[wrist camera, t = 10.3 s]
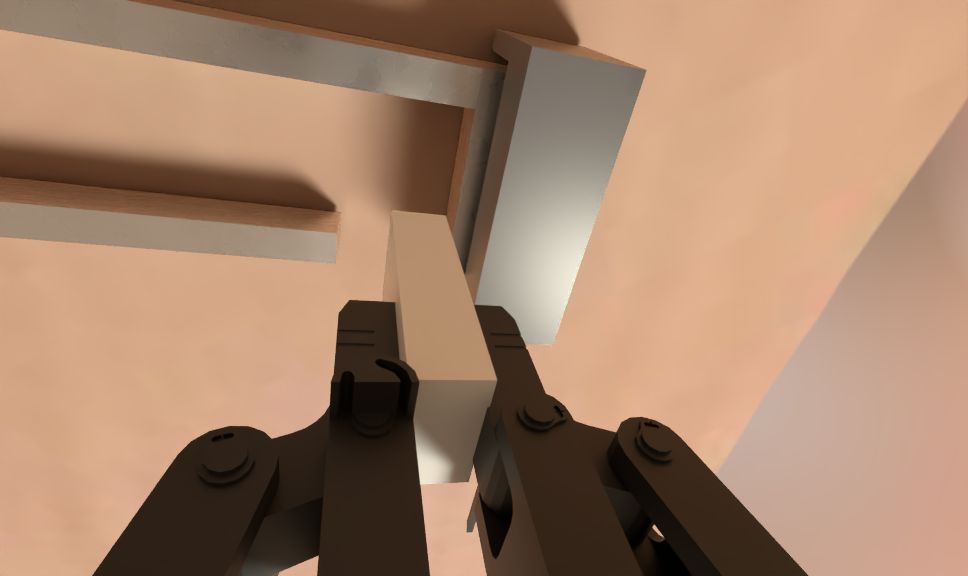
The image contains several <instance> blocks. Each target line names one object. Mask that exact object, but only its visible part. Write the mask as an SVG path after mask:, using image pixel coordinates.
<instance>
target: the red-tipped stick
mask: <svg viewBox="0 0 968 576" xmlns="http://www.w3.org/2000/svg"><path fill="white" fill-rule="evenodd" d="M340 215H341V212H331V211H322V210H312V209H303V208H293V207H284V206H274V205H265V204H255V203H246V202H236V201H227V200H217V199H208V198H198V197H189V196H179V195H170V194H160V193H151V192H141V191H132V190H122V189H113V188H103V187H94V186H84V185H75V184H65V183H56V182H46V181H37V180H27V179H18V178H8V177H0V237H8V238H20V239H33V240H46V241H58V242H71V243H83V244H96V245H108V246H121V247H134V248H146V249H159V250H171V251H184V252H196V253H209V254H222V255H234V256H247V257H259V258H272V259H284V260H297V261H310V262H322V263H335V264H336V259H337V253H338V246H339V236H340Z"/></svg>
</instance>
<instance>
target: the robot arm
mask: <svg viewBox="0 0 968 576" xmlns="http://www.w3.org/2000/svg"><path fill="white" fill-rule="evenodd" d="M473 464H474V468H475V473H476V478H477V482H478V486H477V490H476V493H475V496H474V500H473V503H472V506H471V510H470V513H469V516H468V520H467V532H473V528H474V525H475V522H477V527H478V532H479V537H480V542H481V547H482V553H483V558H484V563H485V568H486V573H487V576H808V575H807V574H806V573H805V571H804V570H803V569H802V568H801V567H800V566H799V565H798V564H797V563H796V562H795V561H794V560H793V558H791V556H790V555H789V554H788V553H787V552H786V551H785V550H784V549H783V548H782V547H781V545H780V544H779V543H778V542H777V541H776V540H775V539H774V538H773V537H772V536H771V535H770V534H769V533H768V531H767V530H766V529H765V528H764V527H763V526H762V525H761V524H760V523H759V522H758V521H757V520H756V518H755V517H754V516H753V515H752V514H751V513H750V512H749V511H748V510H747V509H746V508H745V507H744V506H743V504H742V503H741V502H740V501H739V500H738V499H737V498H736V497H735V496H734V495H733V494H732V493H731V491H730V490H729V489H728V488H727V487H726V486H725V485H724V484H723V483H722V482H721V481H720V480H719V479H718V477H717V476H716V475H715V474H714V473H713V472H712V471H711V470H710V469H709V468H708V467H707V466H706V464H705V463H704V462H703V461H702V460H701V459H700V458H699V457H698V456H697V455H696V454H695V453H694V452H693V450H692V449H691V448H690V447H689V446H688V445H687V444H686V443H685V442H684V441H683V440H682V439H681V438H680V437H679V436H678V435H677V434H676V433H675V432H673V431H672V430H671V429H670V428H669V427H667V426H665V425H663V424H661V423H659V422H657V421H655V420H652V419H648V418H644V417H633V418H629V419H627V420H625V421H623V422H621V424H620V426H619V428H618V430H617V432H612V431H608V430H604V429H600V428H596V427H592V426H588V425H585V424H582V423H579V422H576V421H574V420H573V418H572V416H571V414H570V413H569V411H568V410H567V409H566V407H565V406H564V405H563V404H562V403H560V402H559V401H558V400H557V399H555V398H554V397H552V396H550V395H547V394H546V393H545V391H544V388H543V386H542V383H541V381H540V379H539V376H538V374H537V371H536V369H535V366H534V364H533V362H532V359H531V357H530V354H529V352H528V350H527V349H526V345H525V342H524V340H523V338H522V337H521V333H520V330H519V328H518V326H517V323H516V321H515V319H514V318H513V317H512V316H511V315H510V314H509V313H508V312H507V311H506V310H505V309H504V308H503V307H502V306H491V305H474V304H473V301H472V298H471V295H470V291H469V288H468V285H467V282H466V279H465V275H464V272H463V269H462V266H461V263H460V259H459V256H458V253H457V250H456V247H455V243H454V240H453V237H452V234H451V231H450V227H449V224H448V221H447V218H446V215H436V214H426V213H416V212H406V211H396V210H391V219H390V229H389V238H388V248H387V257H386V267H385V276H384V286H383V302H380V301H359V300H349V301H348V303H347V304H346V305H345V306H344V308H343V309H342V310H341V311H340V312H339V316H338V329H337V341H336V354H335V366H334V375H333V378H332V381H331V394H330V406H329V407H328V409H327V411H326V412H325V414H324V415H323V416H322V417H321V418H319V419H318V420H317V421H316V422H315V423H313V424H311V425H310V426H308V427H307V428H305V429H302V430H299V431H297V432H294V433H291V434H288V435H284V436H280V437H277V438H273V439H271V438H270V437H269V436H268V435H267V434H266V433H265V432H263V431H261V430H258V429H255V428H252V427H249V426H228V427H224V428H220V429H216V430H212V431H209V432H207V433H205V434H204V435H202V436H200V437H198V438H196V439H195V440H193V441H191V442H190V443H189V444H188V445H187V446H186V447H185V448H184V449H183V450H182V451H181V452H180V453H179V454H178V455H177V457H176V458H175V459H174V461H173V462H172V464H171V465H170V466H169V468H168V469H167V471H166V472H165V474H164V475H163V476H162V478H161V479H160V481H159V482H158V483H157V485H156V486H155V488H154V489H153V491H152V492H151V493H150V495H149V496H148V498H147V499H146V500H145V502H144V503H143V505H142V506H141V507H140V509H139V510H138V512H137V513H136V515H135V516H134V517H133V519H132V520H131V522H130V523H129V524H128V526H127V527H126V529H125V530H124V531H123V533H122V534H121V536H120V537H119V539H118V540H117V541H116V543H115V544H114V546H113V547H112V548H111V550H110V551H109V553H108V554H107V556H106V557H105V558H104V560H103V561H102V563H101V564H100V565H99V567H98V568H97V570H96V571H95V572H94V574H93V575H92V576H278V574H279V572H280V571H283V570H285V569H287V568H290V567H292V566H295V565H297V564H299V563H302V562H304V561H307V560H309V559H311V558H314V557H316V556H318V555H319V559H318V572H317V576H430V572H429V562H428V553H427V543H426V534H425V525H424V515H423V506H422V496H421V487H420V484H439V483H457V482H469V478H470V475H471V471H472V468H473ZM654 524H655V526H656V527H657V528H658V530H659V531H660V532H661V534H662V535H663V536H664V538H663V537H662V536H660V535H658V533H657V532H656V531H655V530H654V529H653V528H652V527H653V525H654Z"/></svg>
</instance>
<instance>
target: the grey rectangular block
mask: <svg viewBox="0 0 968 576" xmlns="http://www.w3.org/2000/svg"><path fill="white" fill-rule="evenodd" d="M492 50H493V51H494V52H496V53H497V54H499V55H500V56H501V57H503V58H504V59H506V60H507V61H508V65H507V70H506V75H505V80H504V85H503V90H502V95H501V100H500V105H499V110H498V115H497V119H496V124H495V129H494V134H493V139H492V144H491V149H490V154H489V159H488V164H487V169H486V173H485V178H484V183H483V188H482V193H481V198H480V203H479V208H478V213H477V218H476V223H475V228H474V232H473V237H472V242H471V247H470V252H469V257H468V262H467V267H466V272H465V274H464V275H465V279H466V282H467V285H468V288H469V291H470V295H471V298H472V301H473V304H474V305H491V306H502V307H503V308H504V309H505V310H506V311H507V312H508V313H509V314H510V315H511V316H512V317H513V318H514V319H515V321H516V323H517V326H518V328H519V330H520V333H521V337H522V338H523V340H524V342H525V344H542V345H553V343H554V340H555V337H556V334H557V331H558V328H559V325H560V323H561V320H562V317H563V314H564V311H565V308H566V305H567V302H568V299H569V296H570V293H571V290H572V287H573V284H574V281H575V279H576V276H577V273H578V270H579V267H580V264H581V261H582V258H583V255H584V252H585V249H586V246H587V243H588V240H589V237H590V235H591V232H592V229H593V226H594V223H595V220H596V217H597V214H598V211H599V208H600V205H601V202H602V199H603V196H604V193H605V191H606V188H607V185H608V182H609V179H610V176H611V173H612V170H613V167H614V164H615V161H616V158H617V155H618V152H619V149H620V147H621V144H622V141H623V138H624V135H625V132H626V129H627V126H628V123H629V120H630V117H631V114H632V111H633V108H634V105H635V103H636V100H637V97H638V94H639V91H640V88H641V85H642V82H643V79H644V76H645V73H646V70H645V69H642V68H639V67H637V66H634V65H631V64H629V63H626V62H623V61H620V60H618V59H615V58H612V57H610V56H607V55H604V54H602V53H599V52H596V51H594V50H591V49H588V48H585V47H580V46H576V45H571V44H566V43H562V42H557V41H552V40H548V39H543V38H538V37H534V36H529V35H524V34H520V33H515V32H510V31H506V30H501V29H496V31H495V37H494V42H493V47H492Z"/></svg>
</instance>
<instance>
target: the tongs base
mask: <svg viewBox="0 0 968 576" xmlns="http://www.w3.org/2000/svg"><path fill="white" fill-rule="evenodd" d="M0 29H2V30H7V31H13V32H19V33H25V34H31V35H37V36H43V37H49V38H55V39H61V40H67V41H73V42H79V43H85V44H91V45H97V46H102V47H108V48H114V49H120V50H126V51H132V52H138V53H144V54H150V55H156V56H162V57H168V58H174V59H180V60H186V61H192V62H198V63H203V64H209V65H215V66H221V67H227V68H233V69H239V70H245V71H251V72H257V73H263V74H269V75H275V76H281V77H287V78H293V79H298V80H304V81H310V82H316V83H322V84H328V85H334V86H340V87H346V88H352V89H358V90H364V91H370V92H376V93H382V94H388V95H393V96H399V97H405V98H411V99H417V100H423V101H429V102H435V103H441V104H447V105H453V106H459V107H464V112H463V118H462V124H461V130H460V136H459V142H458V148H457V154H456V160H455V166H454V172H453V177H452V183H451V189H450V195H449V201H448V207H447V213H446V218H447V221H448V224H449V227H450V231H451V234H452V237H453V240H454V243H455V247H456V250H457V253H458V256H459V259H460V263H461V266H462V269H463V272H464V274H465V272H466V267H467V262H468V257H469V252H470V247H471V242H472V237H473V232H474V228H475V223H476V218H477V213H478V208H479V203H480V198H481V193H482V188H483V183H484V178H485V173H486V169H487V164H488V159H489V154H490V149H491V144H492V139H493V134H494V129H495V124H496V119H497V115H498V110H499V105H500V100H501V95H502V90H503V85H504V80H505V75H506V70H507V65H502V64H497V63H492V62H487V61H482V60H476V59H471V58H466V57H461V56H456V55H451V54H446V53H441V52H435V51H430V50H425V49H420V48H415V47H410V46H405V45H400V44H394V43H389V42H384V41H379V40H374V39H369V38H364V37H359V36H354V35H348V34H343V33H338V32H333V31H328V30H323V29H318V28H313V27H307V26H302V25H297V24H292V23H287V22H282V21H277V20H272V19H266V18H261V17H256V16H251V15H246V14H241V13H236V12H231V11H225V10H220V9H215V8H210V7H205V6H200V5H195V4H190V3H184V2H179V1H174V0H0Z"/></svg>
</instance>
